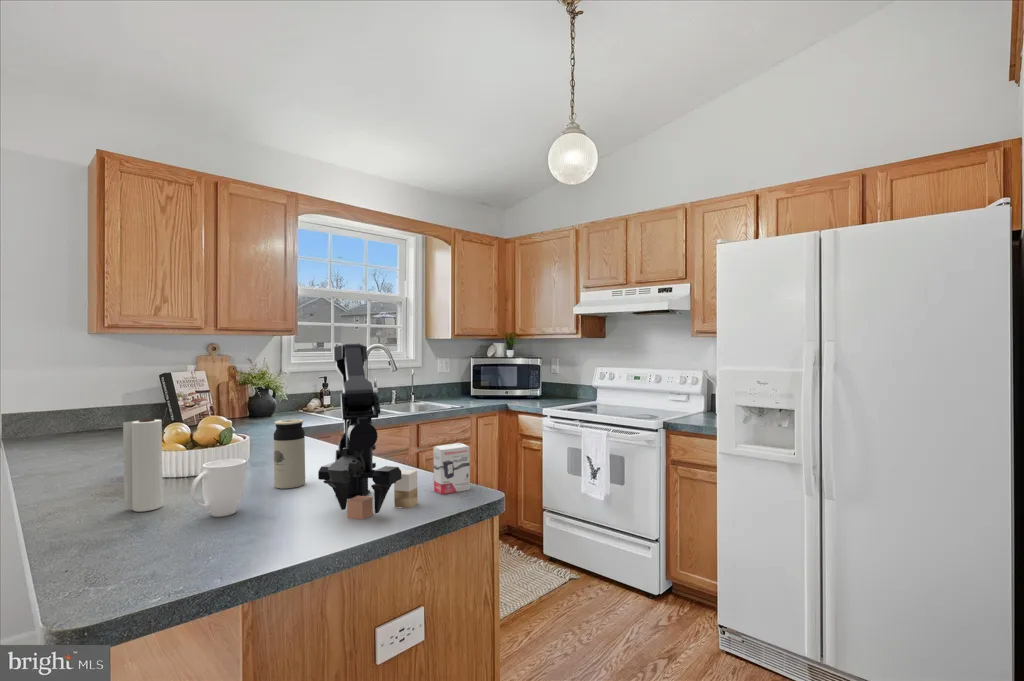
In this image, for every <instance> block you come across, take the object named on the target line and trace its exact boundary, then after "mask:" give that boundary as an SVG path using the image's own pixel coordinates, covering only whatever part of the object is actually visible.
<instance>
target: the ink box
mask: <svg viewBox="0 0 1024 681" xmlns="http://www.w3.org/2000/svg"><path fill="white" fill-rule="evenodd" d="M470 448H471V447H470V446H469V445H466V444H464V443H462V442H455V443H449V444H448V443H447V444H441V445H435V446H433V448H432V449H433V451H432V452H433V489H434V492H436V493H438V494H440V495H441V496H442V495H447V494H454V493H458V492H464V491H468V490H469V491H470V490H471V473H470V472H471V470H470V469H471V467H470V465H471V463H470V462H471V461H470V456H471V455H470V453H471V452H470Z"/></svg>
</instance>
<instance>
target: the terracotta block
mask: <svg viewBox="0 0 1024 681" xmlns="http://www.w3.org/2000/svg"><path fill="white" fill-rule="evenodd" d="M373 499H374V498H373V496H370V495H369V496H367V495H363V496H356V497H353V498H349V499H347V504H346V512H347V514H346V515H347V516H346V518H347V519H353V520H354V519H355V520H365V519H366V518H368V517H370V516H372V515H373V514H374V504H373V503H374V502H373Z"/></svg>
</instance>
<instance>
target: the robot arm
mask: <svg viewBox="0 0 1024 681" xmlns="http://www.w3.org/2000/svg"><path fill="white" fill-rule="evenodd" d="M332 348H333V349H332V361H333V363H335V370H336V372H337V373H338V374H339V376H340V377H341V379H342V392H340V411H341V419H342V421H343V435H342V437H341V439H340V441H339V443H338V444H337V445H338V446H337V447H338V448H337V449H335V458H334V459H335V461H334V462H331V463H328V464H325V465H322V466H320V467H319V470H318V471H317V472H318V474H317V476H318V477H317V478H318V480H320V481H322V482H323V483H324V484H327V485H328V486H329V487H331V488H332V491H333V493H334V495H335V498H336V499H337V501H338V502H337V503H338V505H339V507H340V509H341V510H342V511H344V510H347V500H348V498H349V499H351V498H353V497H356V496H366V495H367V494H369V493H371V489H372V490H373V491H374V494H373V495H374V498H373V499H374V502H373V503H374V504H373V509H374V514H378V513H379V512H380V511H381V509H382V506H383V504H384V501H385V499H386V496H387V494H388V492H389V490H390V488H391V486H392V485H394V483H396V481H398V480H400V479H402V478H401V470H402V469H401V468H400V467H399V466H391V465H385V466H383V467H379V468H377V469H375V468H376V467H377V464H376V462H373V458H374V455H373V454H374V453H373V451H375V450H376V447H377V446H376V443H377V440H378V437H379V436H378V431H377V428H376V427H375V426H374V425H373V421H372V419H378V418H379V415H380V413H381V406H380V405H381V404H380V398H379V396H378V394H377V391H375V390H374V389H373V384H372V382H371V381H370V380H368V379H367V378H366V374H365V367H364V366H365V362H367V361H368V351H367V350H368V349H367V348H368V347H367V346H366V345H363V343H359V342H344V343H341V344H337V346H334V347H332ZM369 479H372V480H371V481H372V482H373V484H371V489H369Z"/></svg>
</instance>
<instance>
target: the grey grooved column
mask: <svg viewBox="0 0 1024 681" xmlns="http://www.w3.org/2000/svg"><path fill="white" fill-rule="evenodd" d="M162 422H163V421H162V419H152V418H151V419H141V420H133V421H123V422H122V423H123V424H122V426H123V427H122V430H123V436H122V439H123V442H122V443H123V446H122V448H123V506H124V507H123V509H124V510H129V509H132V511H134V512H137V513H138V512H142V513H143V512H149V511H153V510H157V509H160V508H162V507H163V505H164V504H163V499H164V498H163V497H164V496H163V438H162V437H163V435H162V432H163V431H162V426H163V425H162V424H163V423H162Z"/></svg>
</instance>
